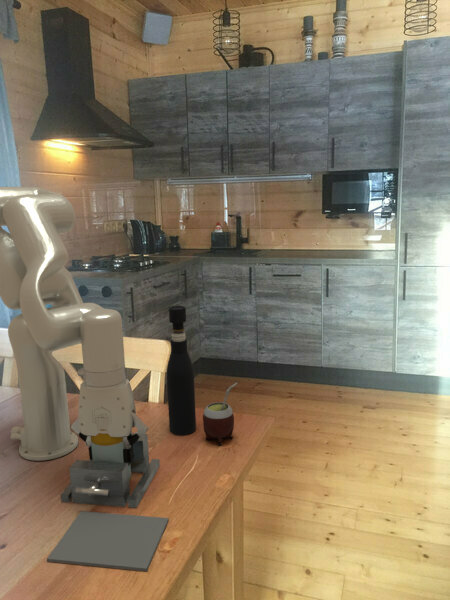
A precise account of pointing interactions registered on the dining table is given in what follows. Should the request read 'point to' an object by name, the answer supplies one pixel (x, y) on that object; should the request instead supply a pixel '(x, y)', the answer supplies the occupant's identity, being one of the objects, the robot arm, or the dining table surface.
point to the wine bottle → (180, 378)
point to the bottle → (107, 445)
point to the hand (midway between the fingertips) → (112, 462)
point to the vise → (111, 479)
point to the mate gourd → (219, 420)
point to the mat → (110, 541)
